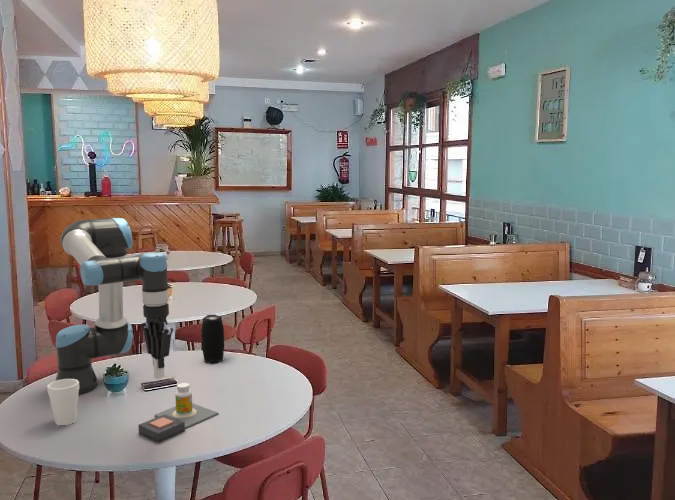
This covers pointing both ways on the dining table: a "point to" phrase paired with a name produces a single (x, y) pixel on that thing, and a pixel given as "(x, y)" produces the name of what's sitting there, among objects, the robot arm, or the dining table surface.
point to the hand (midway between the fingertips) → (159, 377)
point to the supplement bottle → (183, 399)
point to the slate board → (190, 415)
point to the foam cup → (64, 400)
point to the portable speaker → (212, 339)
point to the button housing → (162, 433)
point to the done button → (161, 423)
